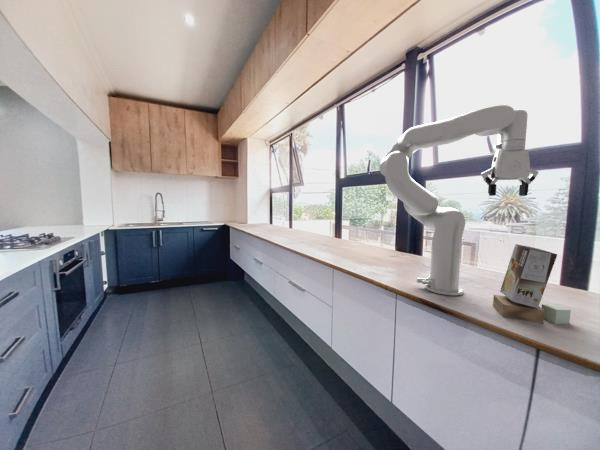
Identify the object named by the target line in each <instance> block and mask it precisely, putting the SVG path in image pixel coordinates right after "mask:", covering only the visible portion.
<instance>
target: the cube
mask: <svg viewBox="0 0 600 450" xmlns="http://www.w3.org/2000/svg"><path fill="white" fill-rule="evenodd" d="M540 307H541V308H542V309H543V310H544V320H546V321H548V322H550V323H553V324H555V325H558V324H562V325H563V324H567V325H568V324H570V321H571V320H570V319H571V313H572V312H571V311H572V310H571V309H570V308H568V307H567V308H566V307H565V306H564V307H563V306H561V305H559V304H555V303H541V306H540Z"/></svg>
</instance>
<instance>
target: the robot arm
mask: <svg viewBox="0 0 600 450" xmlns="http://www.w3.org/2000/svg"><path fill="white" fill-rule="evenodd" d="M528 114H529V113H528V111H526V109H515V108H513V107H512V106H511V105H508V104H497V105H493V106H488V107H483V108H480V109H476V110H473V111H470V112H468V113H467V112H466V113H464V114H460V115H457V116H454V117H451V118H447V119H443V120H438V121H435V122H434V121H433V122H430V123H425V124H424V123H423V124H419V125H415V126H413V127H412V126H411V127H409V128H408V129H407V130H406V131H405V132H404V133H403V134H402V135H400V136H399V138H398V139H397V141H396V142H395V143H394V145H393V146H392V147H391V148H390V150H389V151H388V152H387V153H386V155H384V157H383V158H382V160H381V161H380V164H379V172H380V174H381V175H382V176H384V178H385V179H384V180H385V182H386V185H387V188H388V190H389V191H390V192H391V193H392V195H394V196H395V197H396V198H397V199H398V200H400V201H401V202H403V207H404V209H405V211H406V212H407V214H409V216H411V217H413V218H414V219H415V220H416V221H418V223H421V224H422V225H423V226H425V227H426V228H428V229H429V230H431V231H433V236H432V239H431V254H430V273H429V275H427V277H424V278H423V277H416V283H418V284H422V285H424V288H425V289H426V290H427V291H429V292H432V293H435V294H439V295H444V296H454V297H455V296H457V297H458V296H462V295H463V294H464V290H463V288H461V287H460V286H459V285H460V267H461V254H462V251H461V250H462V239H463V235H464V230H465V229H466V228H465V226H466V218H465V216H464V214H463V213H462V211H460V210H459V209H457V208H454V207H440V206H439V200H438V198H437V197H436V195H435V194H433V193H432V192H431V191H429V190H428V189H426V188H425V187H424V186H422V185H421V184H419V183H418V182H416V181H415V179H414V178H413V177H411V175H410V172H409V160H410V158H411V157H412V156H413V154H414V153H415V152H417V151H419V150H422V149H428V148H432V147H437V146H443V145H448V144H451V143H452V144H453V143H454V142H458V141H461V140H463V139H464V138H467V137H470V136H472V135H475V136H479V137H488V136H495V135H497V144H494V145H493V149H494V150H495V149H496V152H494V156H493V159H492V163H491V168H489V169H487V170H485V171H483V172H481V173H480V175H481V177H482V178H483V181H484V183H486V185H487V186H488V187H487V188H488V191H487V193H488V196H490V197H492V196H496V195H497V184H496V183H497V182H498V181H505V180H509V181H511V180H517V181H518V182H520V183H521V184H520V185H519V189H518V196H520V197H523V196H525V197H526V196H527V195H528V193H529V185H530V184H531V183H532V182H533V181H534V180H535V179H536V177H537V176H538V174H539V171H537V170H536V169H533V168H532V167H531V162H530V153H529V150H528V149H526V137H527V128H528ZM489 174H490V177H489Z"/></svg>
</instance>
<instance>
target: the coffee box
mask: <svg viewBox="0 0 600 450" xmlns="http://www.w3.org/2000/svg"><path fill="white" fill-rule="evenodd" d="M557 257H558V254H557V253H554V252H551V251H547V250H546V249H545V250H544V249H541V248H537V247H532V246H529V245H527V246H526V245H522V244H515V245H514V248H513V250H512V253H511V257H510V260H509V263H508V266H507V269H506V272H505V276H504V277H503V282H502V283H501V286H500V287H501V288H500V289H499V292H500V293H501V294H503V296H506V297H508V298H509V299H510V300H511V301H513V302H516V303H520V304H524V305H528V306H531V307H535V308H538V307H540V304H541V301H542V299H543V295H544V292H545V290H546V287H547V284H548V281H549V279H550V277H551V273H552V271H553V269H554V264H555V262H556V259H557Z"/></svg>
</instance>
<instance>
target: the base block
mask: <svg viewBox="0 0 600 450" xmlns="http://www.w3.org/2000/svg"><path fill="white" fill-rule="evenodd" d="M492 298H493V300H492V306H493V307H494V308H495V310H496V312H498V313H499V315H501V316H502V317H503V318H506V319H507V318H509V319H515V320H521V321H527V322H532V323H540V324H544V320H545V319H544V310H543V309H542V308H541V307H542V306H539V307H538V308H535V307H531V306H528V305H524V304H520V303H516V302H513V301H511V300H510V299H509V298H508V297H506V296H505V295H499V294H493V297H492Z"/></svg>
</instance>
